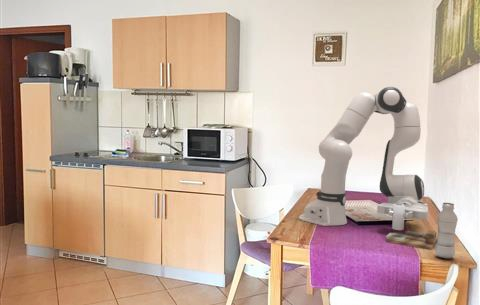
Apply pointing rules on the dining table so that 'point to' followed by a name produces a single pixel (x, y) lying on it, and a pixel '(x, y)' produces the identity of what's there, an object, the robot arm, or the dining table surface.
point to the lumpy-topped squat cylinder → (394, 199)
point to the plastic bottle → (446, 232)
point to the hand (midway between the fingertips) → (398, 214)
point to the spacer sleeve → (398, 216)
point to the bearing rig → (414, 239)
